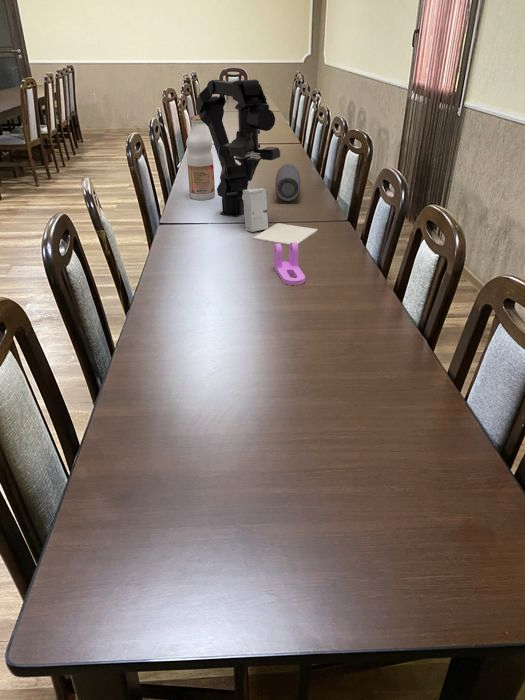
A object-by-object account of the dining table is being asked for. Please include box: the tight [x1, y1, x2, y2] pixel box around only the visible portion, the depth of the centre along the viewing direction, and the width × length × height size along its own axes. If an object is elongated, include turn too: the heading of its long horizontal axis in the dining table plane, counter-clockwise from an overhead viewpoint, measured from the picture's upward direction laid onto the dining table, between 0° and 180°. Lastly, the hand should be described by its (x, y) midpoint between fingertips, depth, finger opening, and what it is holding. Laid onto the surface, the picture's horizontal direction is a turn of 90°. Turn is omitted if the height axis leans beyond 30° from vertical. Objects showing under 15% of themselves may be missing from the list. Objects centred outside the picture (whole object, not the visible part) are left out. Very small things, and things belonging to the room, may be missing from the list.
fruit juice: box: [185, 115, 216, 201], centre depth 193 cm, size 9×9×28 cm
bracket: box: [273, 242, 306, 286], centre depth 133 cm, size 13×6×7 cm, turn 12°
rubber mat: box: [252, 223, 319, 246], centre depth 162 cm, size 14×16×1 cm
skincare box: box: [242, 187, 269, 233], centre depth 164 cm, size 6×4×12 cm
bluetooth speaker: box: [275, 163, 302, 202], centre depth 199 cm, size 23×9×10 cm, turn 178°
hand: (249, 180), depth 167 cm, fingers closed
